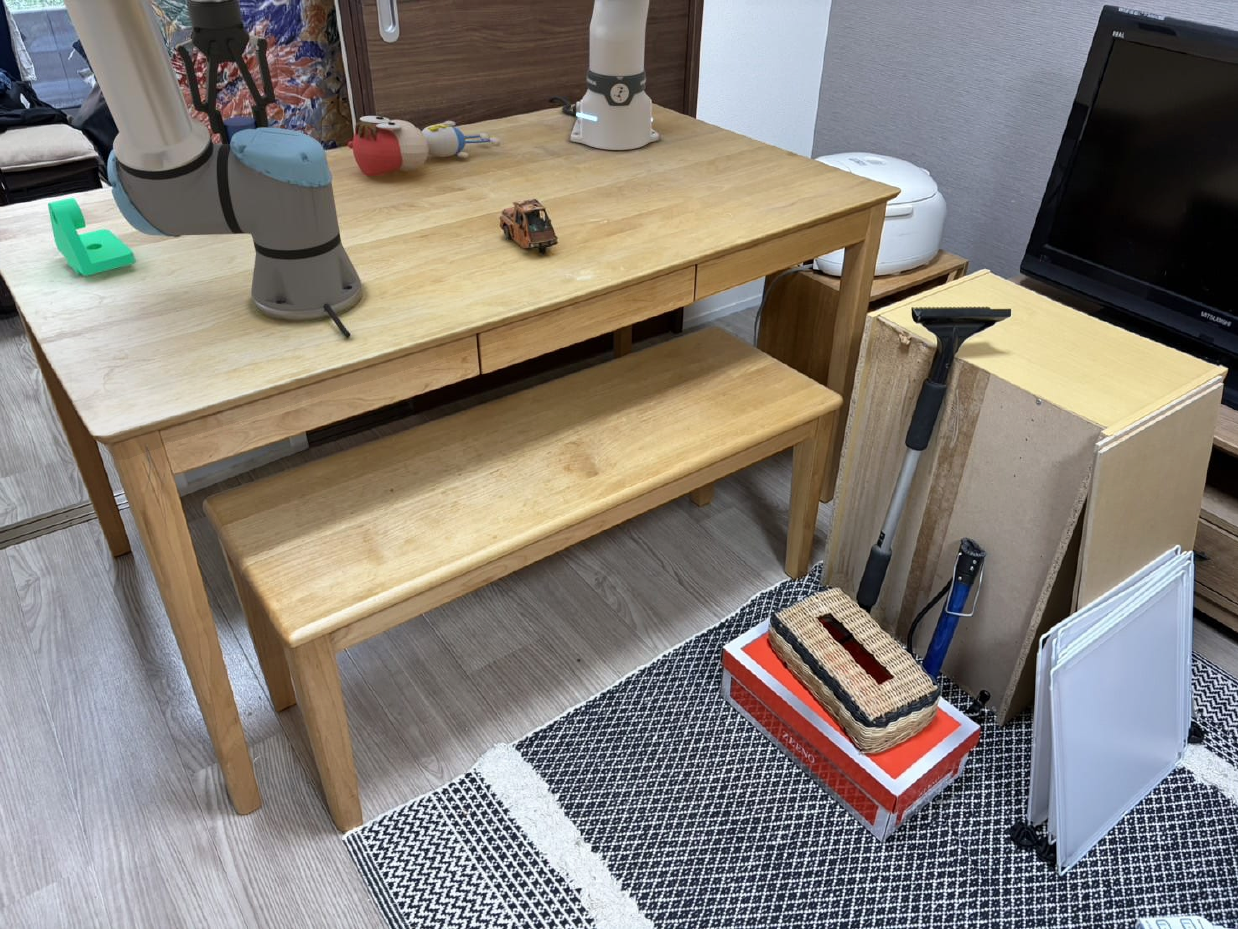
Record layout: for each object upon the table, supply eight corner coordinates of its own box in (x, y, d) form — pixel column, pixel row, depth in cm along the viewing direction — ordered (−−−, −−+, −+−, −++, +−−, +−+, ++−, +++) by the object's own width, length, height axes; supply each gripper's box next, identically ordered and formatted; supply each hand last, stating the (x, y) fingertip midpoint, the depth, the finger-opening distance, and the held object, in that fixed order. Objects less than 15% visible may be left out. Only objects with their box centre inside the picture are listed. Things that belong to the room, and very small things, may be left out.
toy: (516, 122, 178) (364, 126, 163) (515, 176, 183) (367, 184, 168) (475, 107, 191) (331, 109, 176) (475, 157, 196) (335, 163, 181)
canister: (235, 145, 157) (228, 115, 154) (265, 146, 157) (259, 116, 154) (224, 155, 153) (217, 125, 150) (256, 156, 153) (249, 126, 150)
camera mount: (139, 268, 141) (119, 203, 135) (86, 282, 137) (63, 216, 130) (111, 243, 148) (91, 180, 142) (60, 256, 144) (37, 191, 137)
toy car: (524, 226, 158) (523, 186, 153) (566, 250, 150) (565, 209, 146) (492, 235, 154) (490, 194, 150) (533, 260, 147) (532, 218, 143)
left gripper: (268, -13, 146) (295, 136, 161) (144, -4, 139) (184, 150, 154) (278, -3, 141) (305, 149, 155) (149, 6, 134) (190, 164, 148)
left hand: (245, 149), depth 154 cm, fingers closed on canister, 5 cm apart
